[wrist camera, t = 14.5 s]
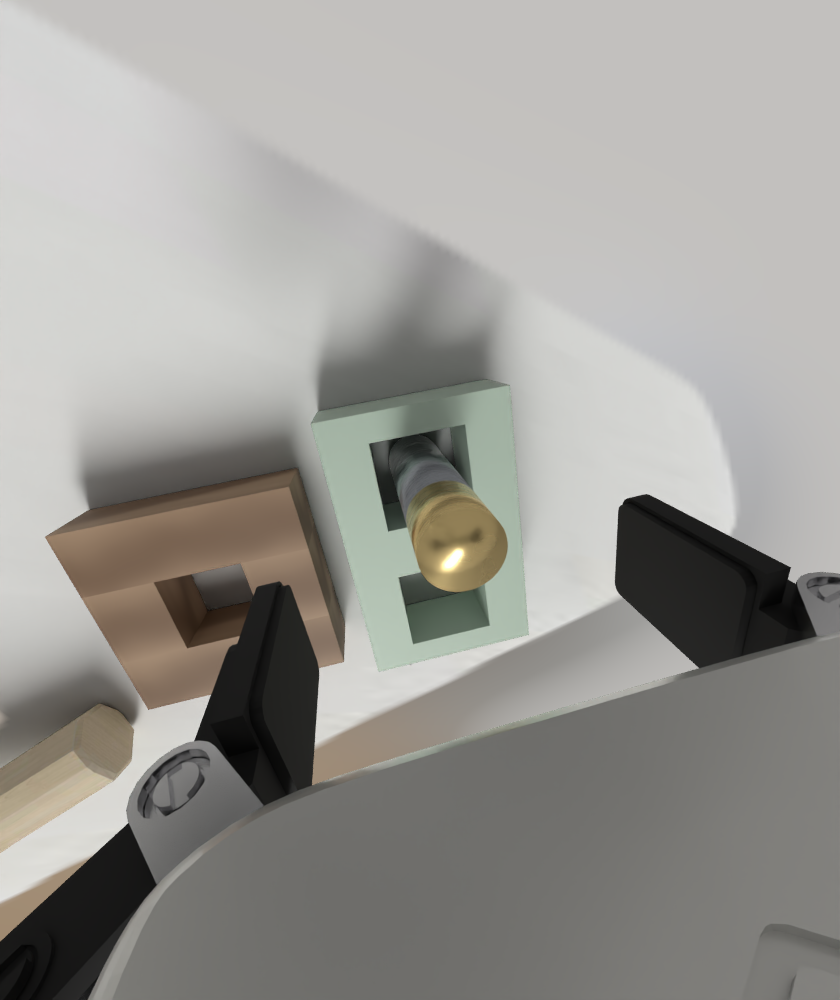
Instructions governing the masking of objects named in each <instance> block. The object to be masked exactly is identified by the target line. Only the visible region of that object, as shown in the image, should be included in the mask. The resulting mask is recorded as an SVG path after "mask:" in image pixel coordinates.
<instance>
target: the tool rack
mask: <svg viewBox="0 0 840 1000" xmlns="http://www.w3.org/2000/svg"><path fill="white" fill-rule="evenodd" d="M311 427H312V430H313V434H314V438H315V441H316V445H317V449H318V452H319V456H320V460H321V463H322V467H323V470H324V474H325V478H326V481H327V485H328V489H329V492H330V496H331V500H332V503H333V507H334V511H335V514H336V518H337V522H338V525H339V529H340V533H341V536H342V540H343V544H344V547H345V551H346V555H347V558H348V562H349V566H350V569H351V573H352V576H353V580H354V584H355V587H356V591H357V595H358V598H359V602H360V606H361V609H362V613H363V617H364V620H365V624H366V628H367V631H368V635H369V639H370V642H371V646H372V650H373V653H374V657H375V661H376V664H377V668H378V672H381V671H385V670H389V669H393V668H397V667H401V666H405V665H409V664H413V663H417V662H421V661H425V660H429V659H433V658H437V657H441V656H445V655H449V654H453V653H457V652H461V651H465V650H469V649H473V648H477V647H481V646H485V645H489V644H493V643H498V642H502V641H506V640H510V639H514V638H518V637H522V636H526V635H529V631H528V618H527V605H526V591H525V578H524V565H523V552H522V539H521V526H520V513H519V500H518V487H517V473H516V460H515V447H514V434H513V421H512V408H511V395H510V385H507V384H503V383H499V382H495V381H491V380H487V379H484V380H479V381H474V382H468V383H463V384H458V385H453V386H448V387H442V388H437V389H432V390H427V391H421V392H416V393H411V394H406V395H401V396H395V397H390V398H385V399H380V400H375V401H369V402H364V403H359V404H354V405H349V406H343V407H338V408H333V409H328V410H323V411H318V412H317V414H316V416H315V417H314V419H313V421H312V423H311ZM449 427H450V430H451V437H452V444H453V451H454V459H455V466H456V470H457V472H458V473H459V474H460V475H461V476H462V478H463V479H464V480H465V481H466V482H467V484H468V485H469V486H470V487H471V488H472V490H473V491H474V492H475V493H476V495H477V496H478V497H479V498H480V499H481V501H482V502H483V503H484V504H485V505H486V507H487V508H488V509H489V510H490V511H491V513H492V514H493V515H494V516H495V518H496V519H497V520H498V521H499V522H500V524H501V525H502V527H503V528H504V530H505V533H506V536H507V541H508V550H507V555H506V559H505V561H504V563H503V565H502V567H501V569H500V570H499V571H498V573H497V574H496V575H495V576H494V577H493V578H492V579H491V580H489V581H488V582H487V583H485V584H483V585H482V586H480V587H478V588H475V589H473V590H470V591H466V592H462V593H457V594H453V595H449V596H445V597H440V598H436V599H432V600H428V601H423V602H419V603H415V604H411V605H406V606H405V601H404V597H403V592H402V588H401V583H400V579H399V577H402V576H407V575H411V574H416V573H420V572H421V571H420V569H419V566H418V563H417V559H416V556H415V552H414V549H413V545H412V542H411V539H410V535H409V532H408V528H407V525H406V521H405V518H404V514H403V511H402V508H401V504H400V501H399V502H394V503H390V504H385V505H383V501H382V497H381V492H380V488H379V483H378V479H377V474H376V470H375V465H374V460H373V456H372V451H371V447H370V443H375V442H380V441H385V440H390V439H395V438H400V437H405V436H410V435H415V434H420V433H425V432H429V431H434V430H439V429H444V428H449Z"/></svg>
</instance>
